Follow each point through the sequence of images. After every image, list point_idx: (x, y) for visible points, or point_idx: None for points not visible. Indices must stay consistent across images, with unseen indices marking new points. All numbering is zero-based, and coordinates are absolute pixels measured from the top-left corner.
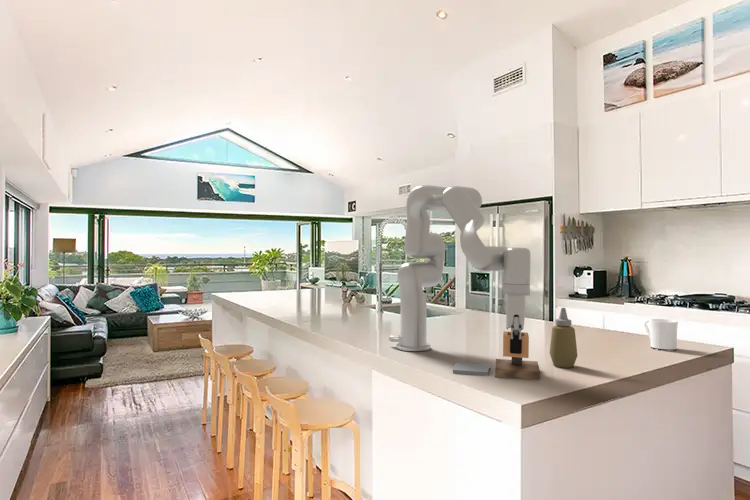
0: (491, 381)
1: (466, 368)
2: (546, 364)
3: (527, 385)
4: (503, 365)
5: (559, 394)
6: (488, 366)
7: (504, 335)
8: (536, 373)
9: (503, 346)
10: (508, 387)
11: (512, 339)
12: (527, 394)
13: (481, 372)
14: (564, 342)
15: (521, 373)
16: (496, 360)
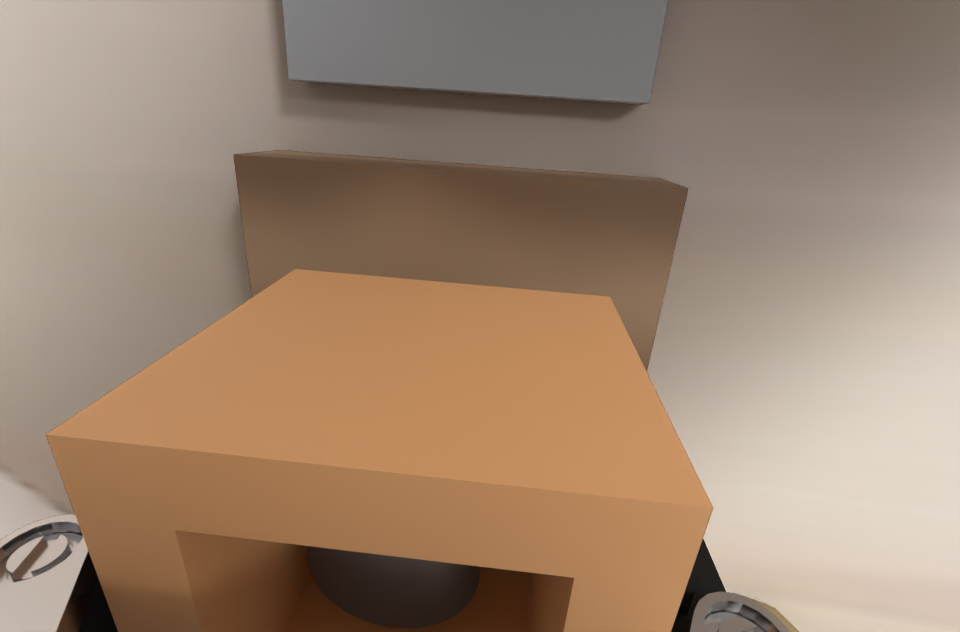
0: (125, 110)
1: None
2: (773, 562)
3: (143, 368)
4: (381, 247)
5: (46, 498)
6: (532, 88)
7: (70, 460)
8: None
9: (218, 324)
10: (26, 239)
11: (53, 538)
12: None
13: (286, 3)
14: None
15: None
16: (606, 186)
